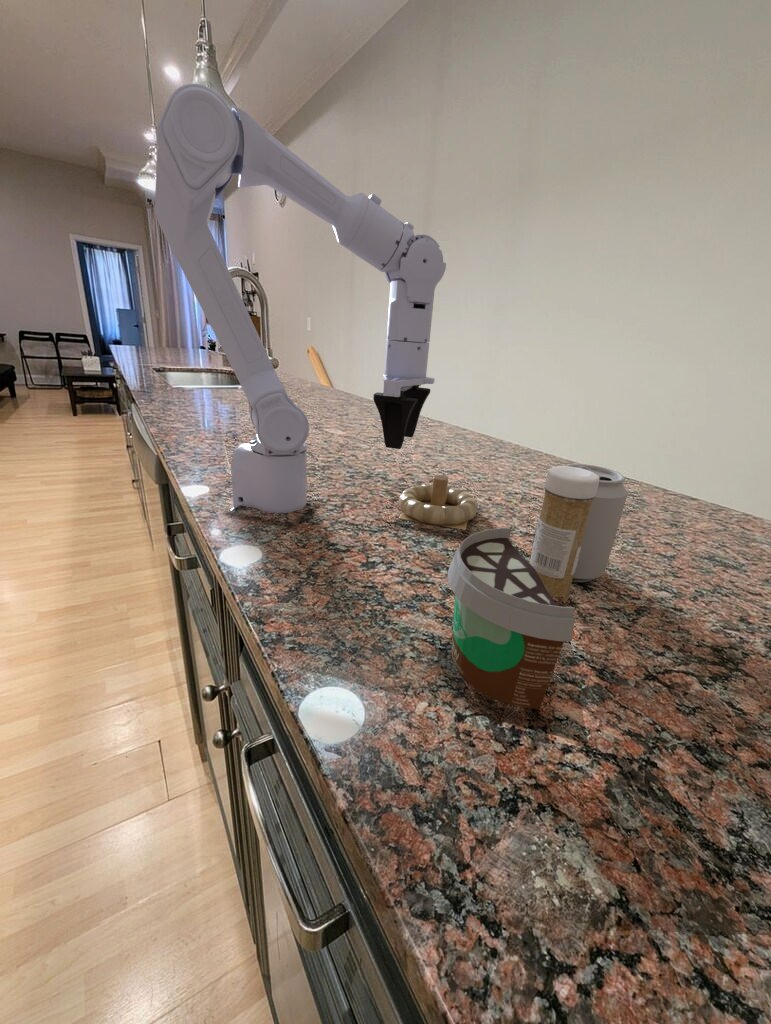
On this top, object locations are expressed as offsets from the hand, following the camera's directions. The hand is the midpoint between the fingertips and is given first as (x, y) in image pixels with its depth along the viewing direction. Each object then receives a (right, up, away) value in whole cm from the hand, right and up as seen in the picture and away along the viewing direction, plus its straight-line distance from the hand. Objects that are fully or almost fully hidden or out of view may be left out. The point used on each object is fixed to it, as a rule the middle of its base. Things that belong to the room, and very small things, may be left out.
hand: (399, 441), depth 64 cm
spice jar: (+15, -19, -18) cm, 30 cm away
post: (+5, -11, -2) cm, 12 cm away
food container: (+5, -23, -29) cm, 37 cm away
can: (+19, -17, -12) cm, 28 cm away
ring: (+5, -9, -2) cm, 11 cm away
